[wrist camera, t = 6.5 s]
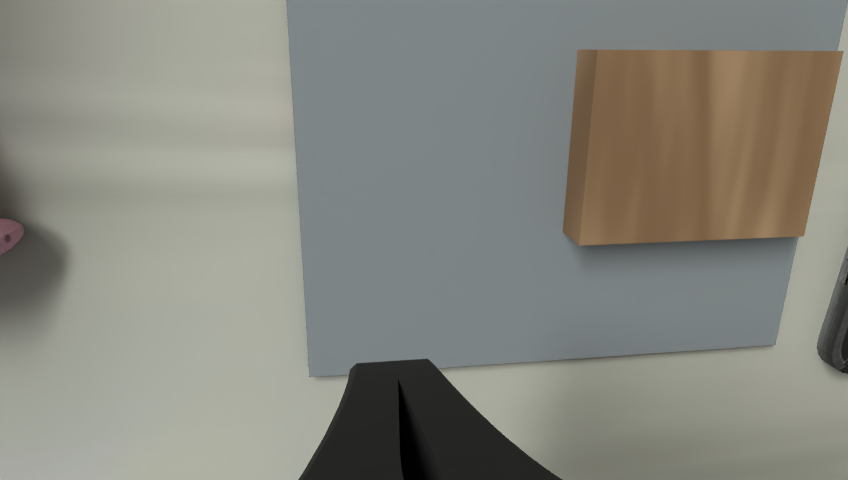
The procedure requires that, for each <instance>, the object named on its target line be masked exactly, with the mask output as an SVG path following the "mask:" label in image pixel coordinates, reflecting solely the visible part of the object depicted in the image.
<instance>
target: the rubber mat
mask: <svg viewBox="0 0 848 480" xmlns="http://www.w3.org/2000/svg"><path fill="white" fill-rule="evenodd" d="M286 1H287V18H288V34H289V50H290V67H291V83H292V99H293V116H294V132H295V149H296V165H297V181H298V198H299V214H300V230H301V247H302V263H303V280H304V296H305V312H306V329H307V345H308V361H309V377H318V376H332V375H347V374H349V372H350V369H351V368H352V367H353V366H354V365H355V364H356V363H368V362H383V361H399V360H414V359H429V360H430V361H431V362H432V363H433V364H434V365H435V366H436V367H437V368H448V367H463V366H477V365H492V364H506V363H521V362H535V361H550V360H564V359H579V358H593V357H608V356H622V355H637V354H651V353H666V352H680V351H695V350H709V349H724V348H738V347H753V346H767V345H775V344H776V339H777V334H778V330H779V325H780V320H781V316H782V311H783V306H784V301H785V297H786V292H787V287H788V282H789V278H790V273H791V268H792V263H793V259H794V254H795V249H796V245H797V240H798V236H797V237H773V238H749V239H725V240H701V241H677V242H653V243H629V244H605V245H581V246H579V245H578V244H577V243H576V242H575V241H573V240H572V239H571V238H570V237H568V236H567V235H566V234H565V233H563V221H564V209H565V197H566V185H567V172H568V160H569V148H570V136H571V124H572V112H573V99H574V87H575V75H576V63H577V51H578V49H583V50H754V51H837V50H838V46H839V41H840V36H841V31H842V27H843V22H844V17H845V12H846V8H847V3H848V0H286Z"/></svg>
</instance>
